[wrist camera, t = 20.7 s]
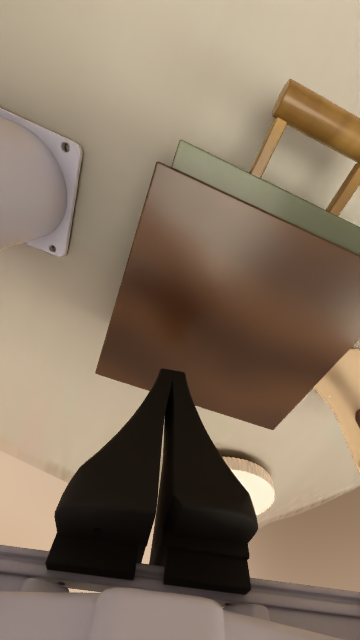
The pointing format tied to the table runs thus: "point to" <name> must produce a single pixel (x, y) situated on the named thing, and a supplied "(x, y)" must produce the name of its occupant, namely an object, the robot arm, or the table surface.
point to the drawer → (290, 109)
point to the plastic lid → (253, 482)
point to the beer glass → (345, 398)
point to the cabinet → (230, 302)
